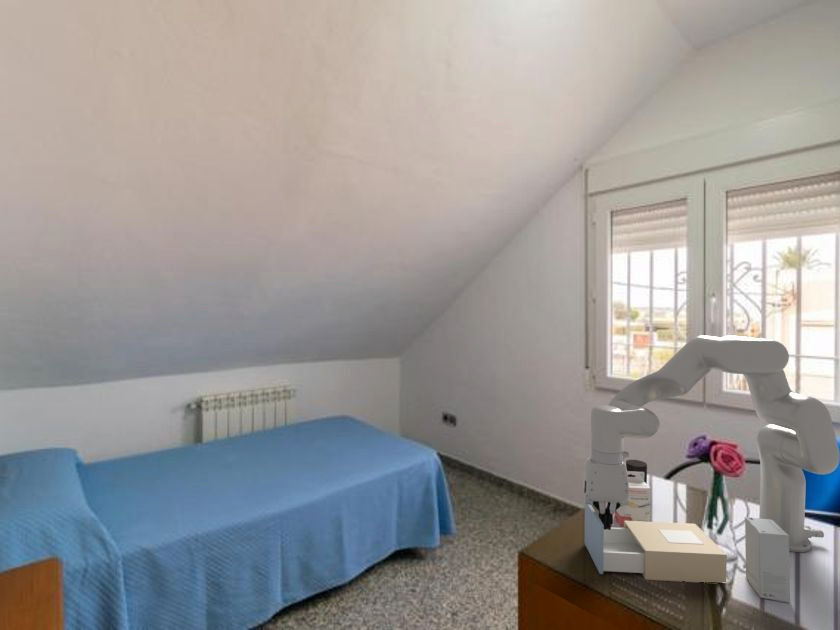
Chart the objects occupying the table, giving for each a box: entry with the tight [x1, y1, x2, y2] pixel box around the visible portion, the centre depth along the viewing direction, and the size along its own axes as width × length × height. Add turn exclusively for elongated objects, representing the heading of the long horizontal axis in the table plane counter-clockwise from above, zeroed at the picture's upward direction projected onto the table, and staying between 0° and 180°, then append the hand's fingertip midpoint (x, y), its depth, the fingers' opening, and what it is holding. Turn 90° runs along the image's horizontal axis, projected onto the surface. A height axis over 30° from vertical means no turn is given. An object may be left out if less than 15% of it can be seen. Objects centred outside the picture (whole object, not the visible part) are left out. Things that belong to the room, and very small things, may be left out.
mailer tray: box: [584, 502, 645, 575], centre depth 110 cm, size 18×13×12 cm
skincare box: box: [744, 516, 791, 604], centre depth 100 cm, size 8×6×15 cm
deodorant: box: [625, 459, 648, 485], centre depth 137 cm, size 6×6×15 cm
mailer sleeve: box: [623, 521, 728, 584], centre depth 110 cm, size 18×14×7 cm
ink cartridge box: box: [614, 471, 652, 527], centre depth 129 cm, size 9×5×15 cm, turn 84°
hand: (605, 526), depth 111 cm, fingers closed
